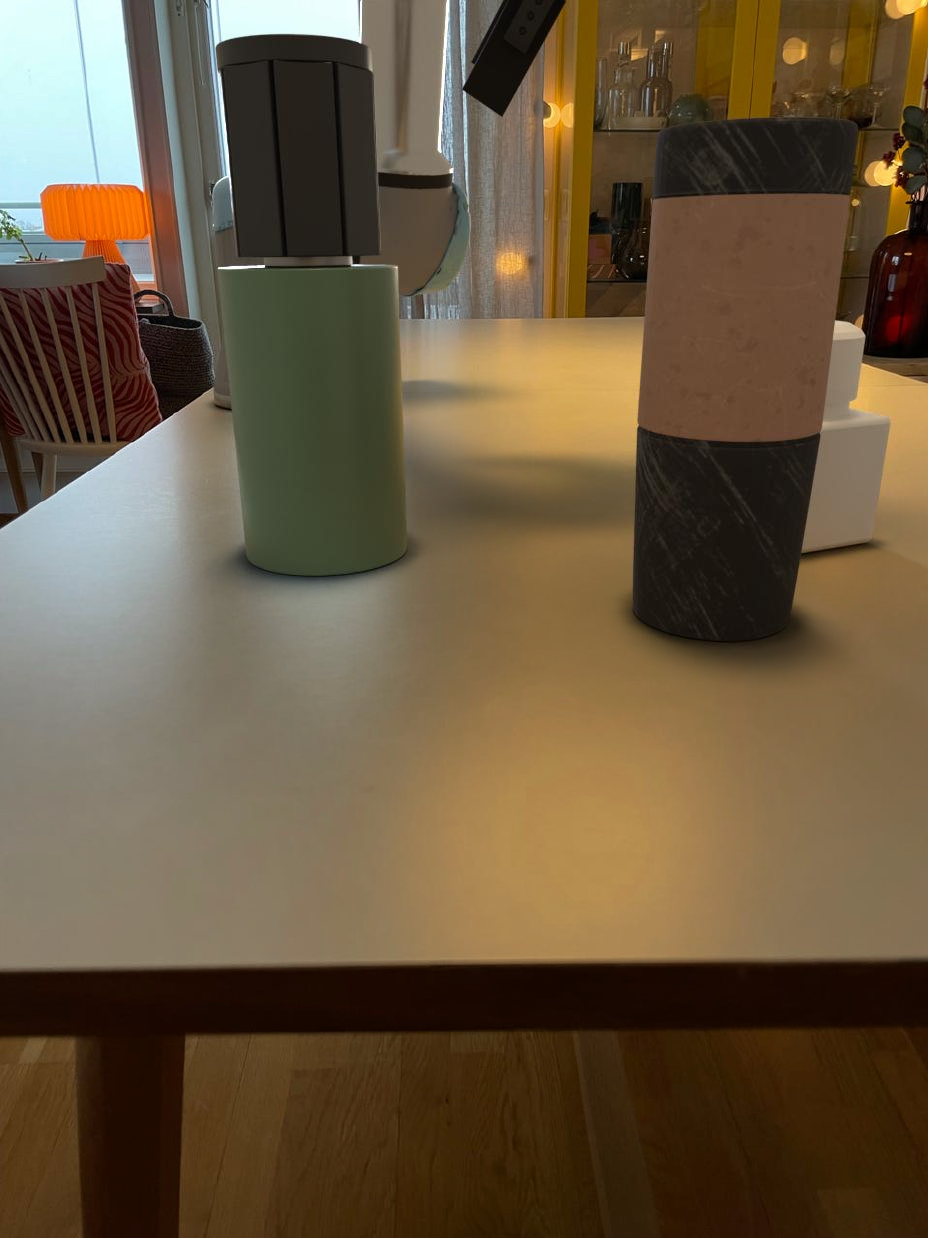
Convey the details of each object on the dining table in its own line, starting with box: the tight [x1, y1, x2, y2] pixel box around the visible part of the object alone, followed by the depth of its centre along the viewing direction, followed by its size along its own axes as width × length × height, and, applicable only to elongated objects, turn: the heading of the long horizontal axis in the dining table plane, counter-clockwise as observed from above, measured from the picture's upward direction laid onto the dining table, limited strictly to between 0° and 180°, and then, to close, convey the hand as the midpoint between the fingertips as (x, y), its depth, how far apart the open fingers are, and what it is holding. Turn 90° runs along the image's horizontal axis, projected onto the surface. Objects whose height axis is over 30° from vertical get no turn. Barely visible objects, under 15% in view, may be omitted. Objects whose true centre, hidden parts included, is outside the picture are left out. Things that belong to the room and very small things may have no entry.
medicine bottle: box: [801, 319, 891, 554], centre depth 52 cm, size 7×7×12 cm
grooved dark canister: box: [214, 33, 381, 257], centre depth 45 cm, size 7×7×9 cm
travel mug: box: [632, 116, 859, 642], centre depth 40 cm, size 8×8×20 cm
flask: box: [217, 256, 408, 577], centre depth 48 cm, size 9×9×24 cm
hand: (485, 87), depth 59 cm, fingers open, 13 cm apart
